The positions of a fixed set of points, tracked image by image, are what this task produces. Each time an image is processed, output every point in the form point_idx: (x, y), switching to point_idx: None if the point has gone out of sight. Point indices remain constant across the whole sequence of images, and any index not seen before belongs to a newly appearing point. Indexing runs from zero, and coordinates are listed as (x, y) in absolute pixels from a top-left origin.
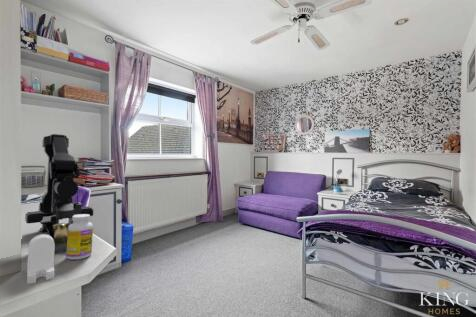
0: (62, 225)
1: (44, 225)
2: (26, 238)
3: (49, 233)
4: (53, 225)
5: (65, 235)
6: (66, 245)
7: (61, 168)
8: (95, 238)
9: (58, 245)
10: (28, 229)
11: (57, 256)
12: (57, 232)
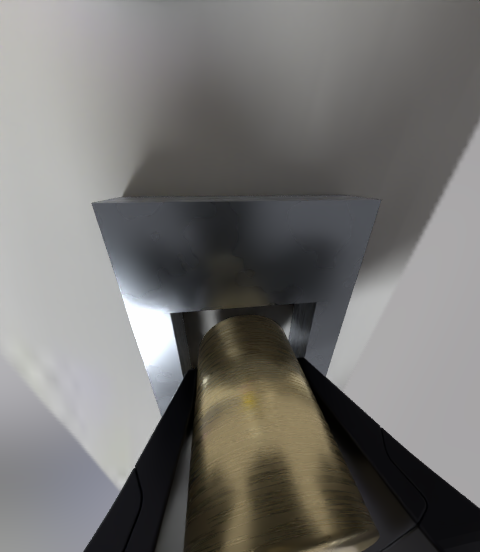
0: (287, 545)
1: None
2: None
3: (359, 408)
4: (369, 544)
5: (222, 369)
6: (231, 201)
7: None
8: (25, 366)
9: (289, 234)
10: None
11: (311, 80)
12: (305, 406)
